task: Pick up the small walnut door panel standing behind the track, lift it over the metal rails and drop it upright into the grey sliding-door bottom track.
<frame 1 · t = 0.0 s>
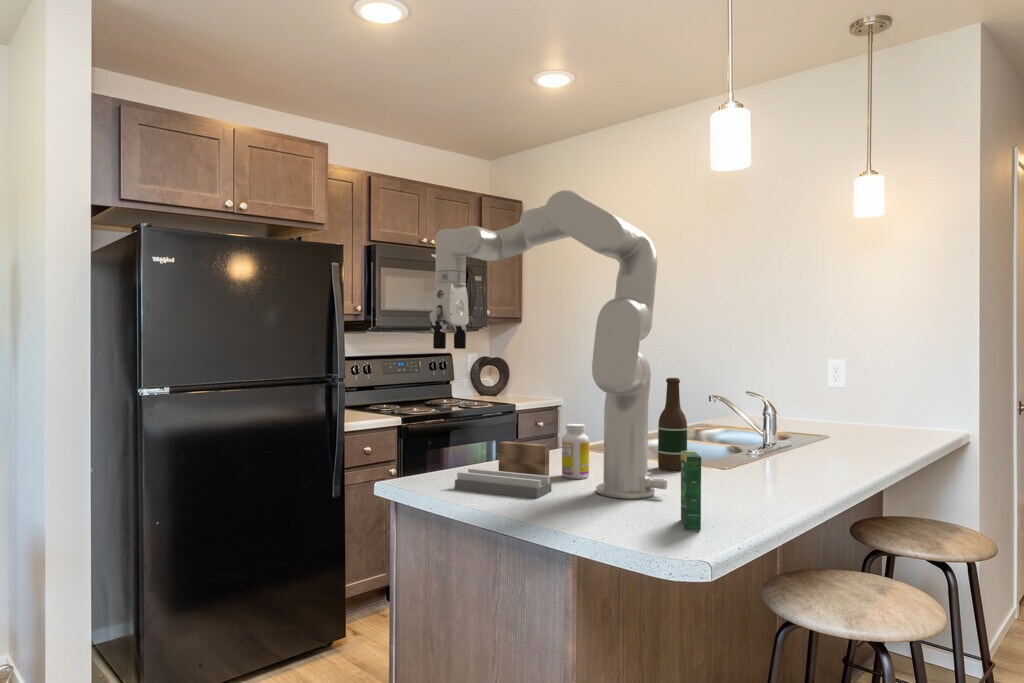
hand: (449, 348, 167), 31 cm above the worktop, fingers open, 9 cm apart
door panel: (523, 481, 159), on the worktop
coffee box: (690, 526, 122), on the worktop
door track: (502, 490, 149), on the worktop
supplement bottle: (575, 477, 165), on the worktop
beer bottle: (672, 469, 177), on the worktop
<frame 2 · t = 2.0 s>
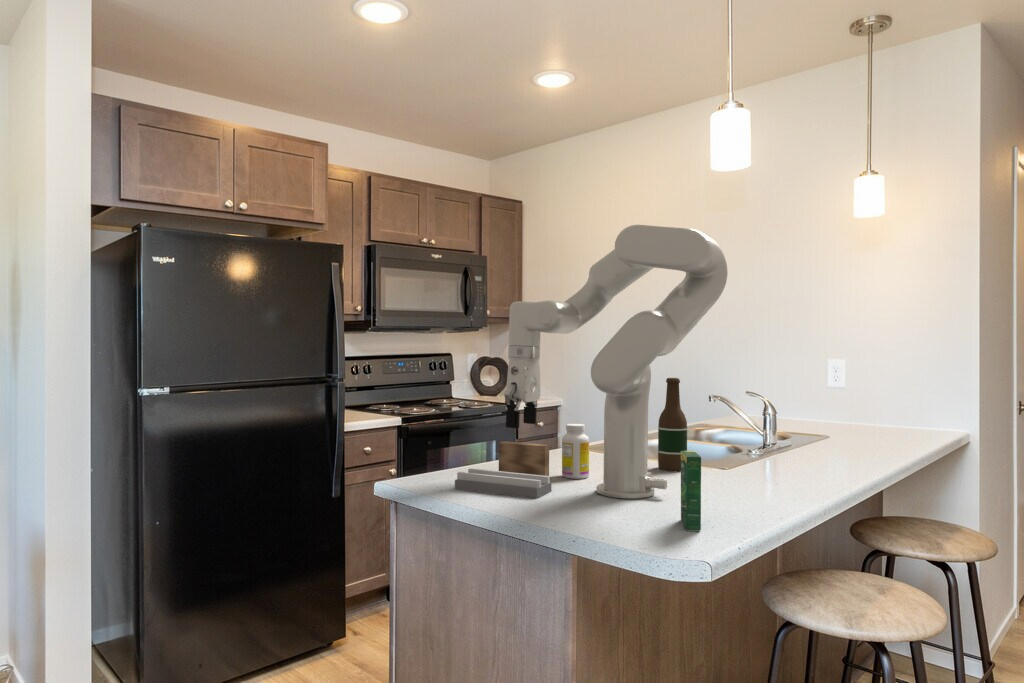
hand: (521, 425, 160), 13 cm above the worktop, fingers open, 9 cm apart
nothing on the worktop moved.
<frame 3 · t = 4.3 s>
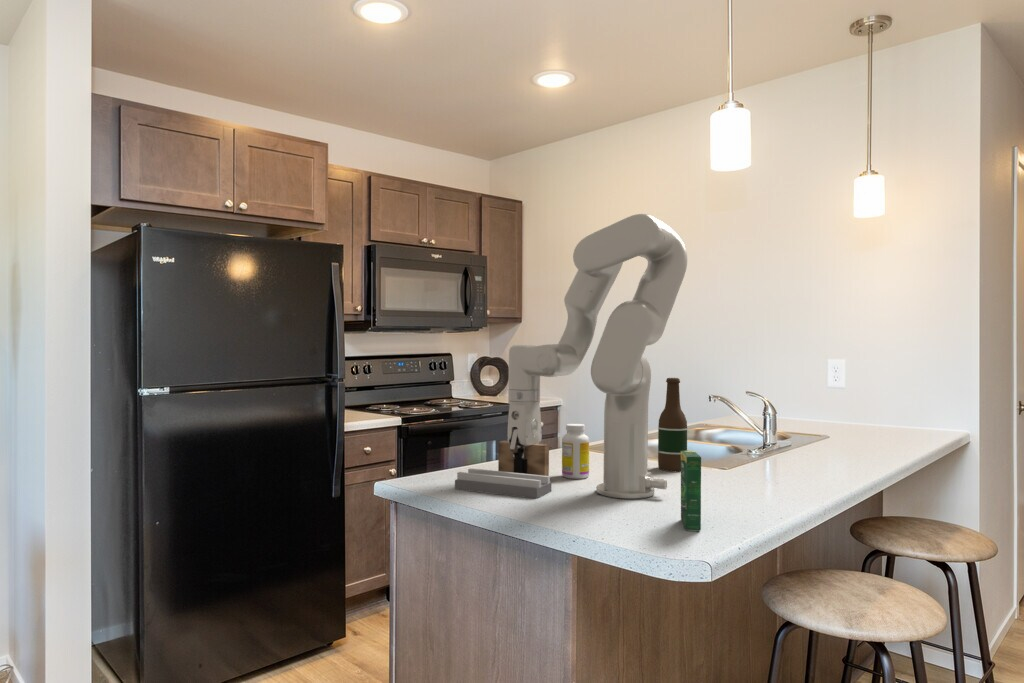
hand: (523, 473, 159), 2 cm above the worktop, fingers closed on door panel, 2 cm apart
door panel: (523, 481, 159), on the worktop, touching gripper
everything else where it was.
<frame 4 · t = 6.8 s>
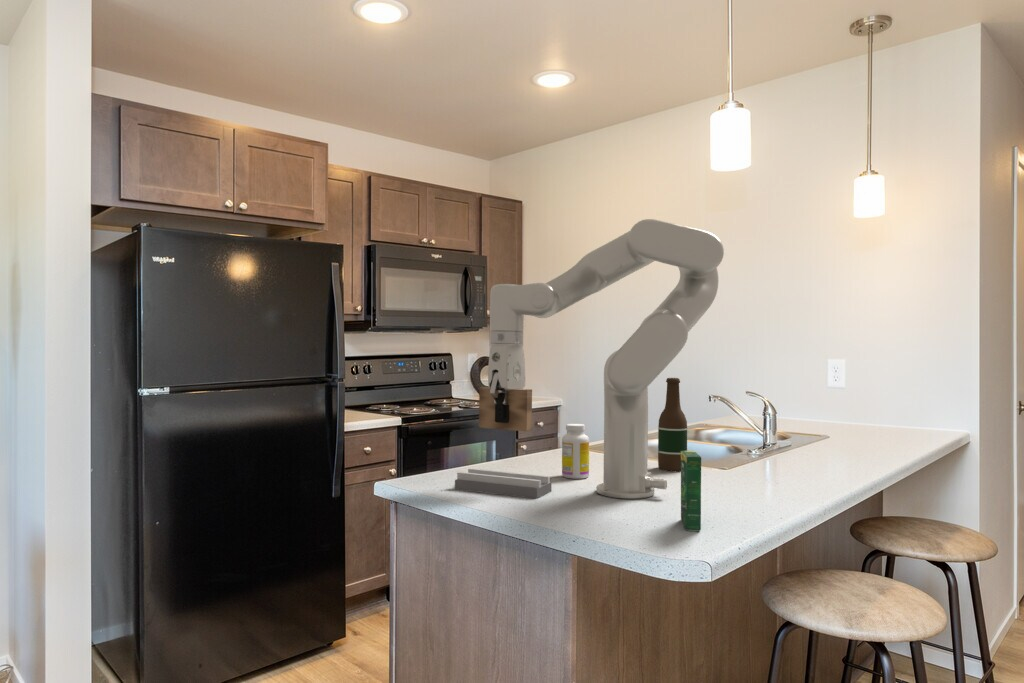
hand: (505, 421, 150), 15 cm above the worktop, fingers closed on door panel, 2 cm apart
door panel: (504, 428, 151), point 13 cm above the worktop, touching gripper
everything else where it was.
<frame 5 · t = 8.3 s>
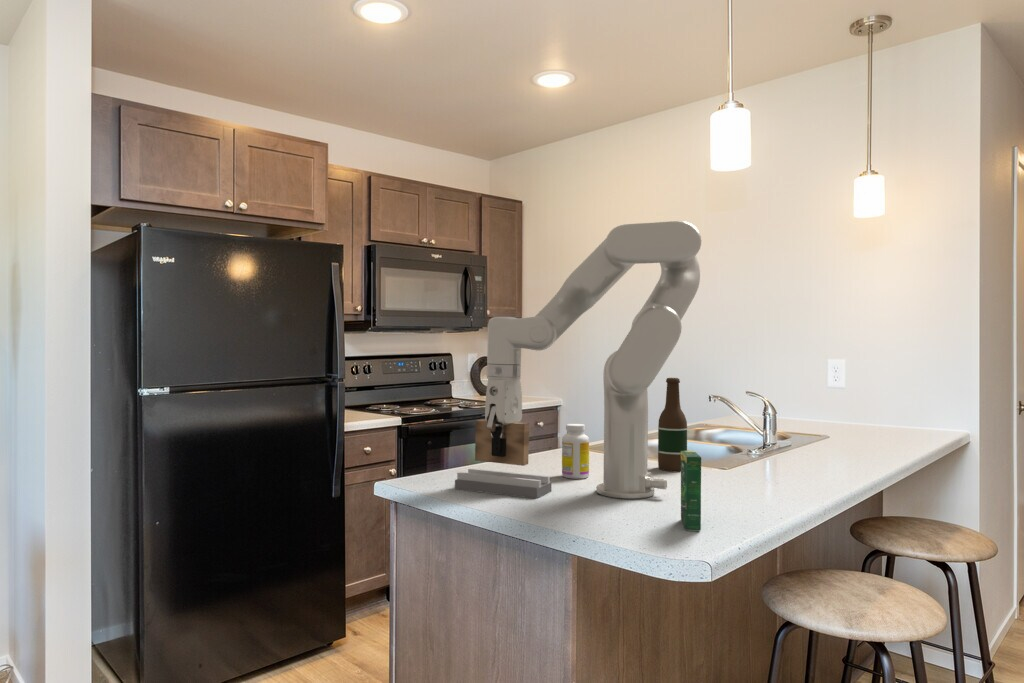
hand: (501, 454, 149), 8 cm above the worktop, fingers closed on door panel, 2 cm apart
door panel: (501, 462, 149), point 6 cm above the worktop, touching gripper
everything else where it was.
when the fingers open (5 cm above the worktop, at t = 9.5 s): door panel stays where it is, resting on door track.
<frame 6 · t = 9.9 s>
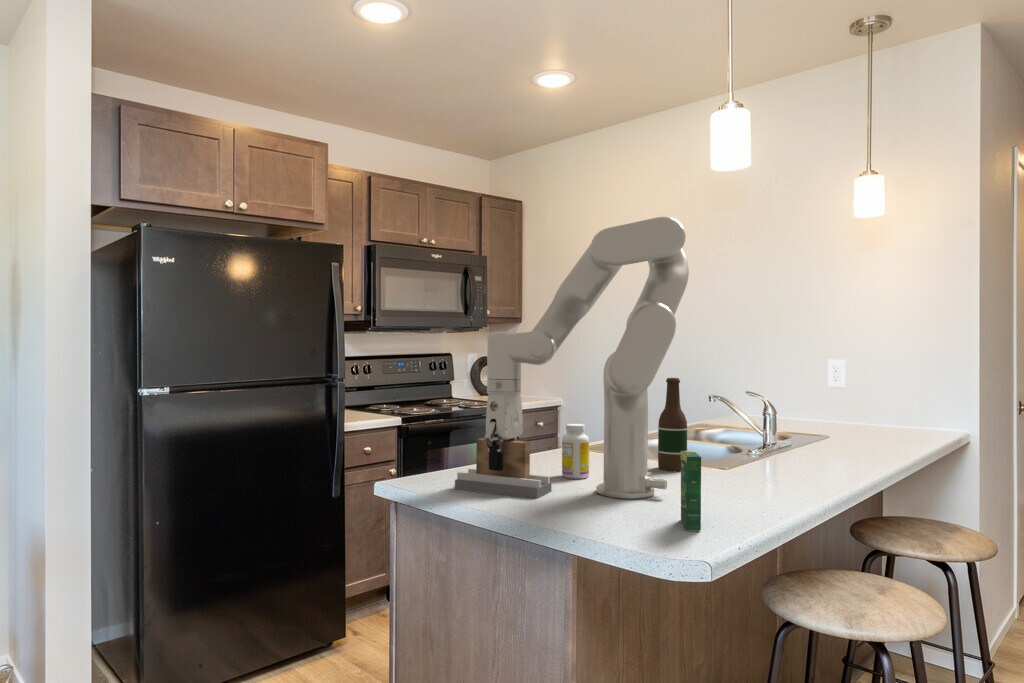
hand: (503, 466, 149), 5 cm above the worktop, fingers open, 6 cm apart
door panel: (502, 481, 149), point 2 cm above the worktop, touching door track
everything else where it was.
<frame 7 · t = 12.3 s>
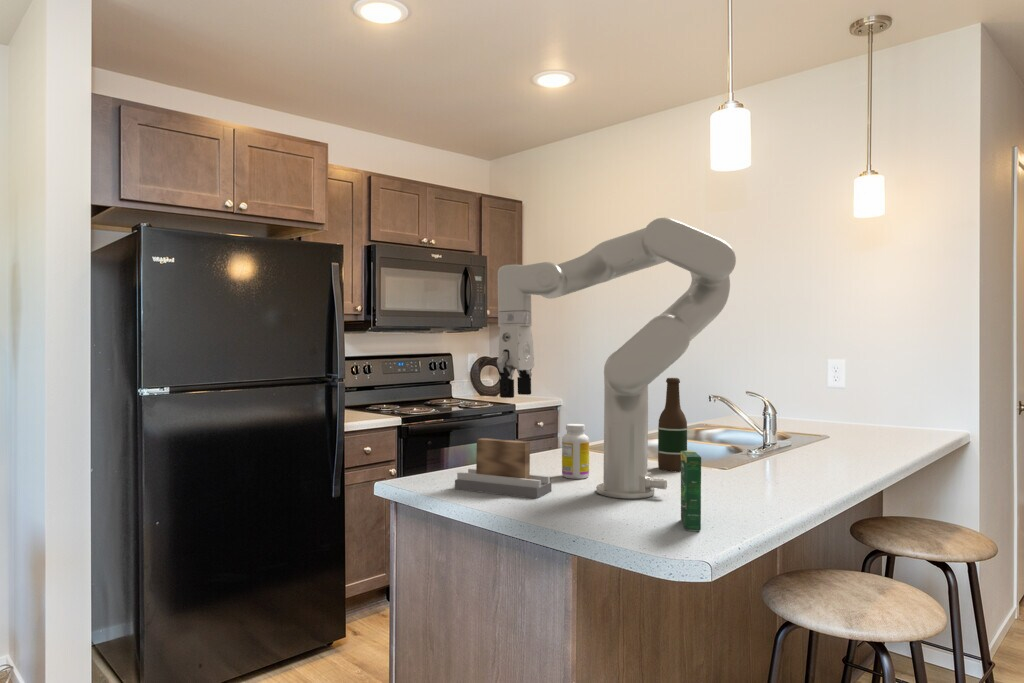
hand: (516, 395, 151), 21 cm above the worktop, fingers open, 9 cm apart
nothing on the worktop moved.
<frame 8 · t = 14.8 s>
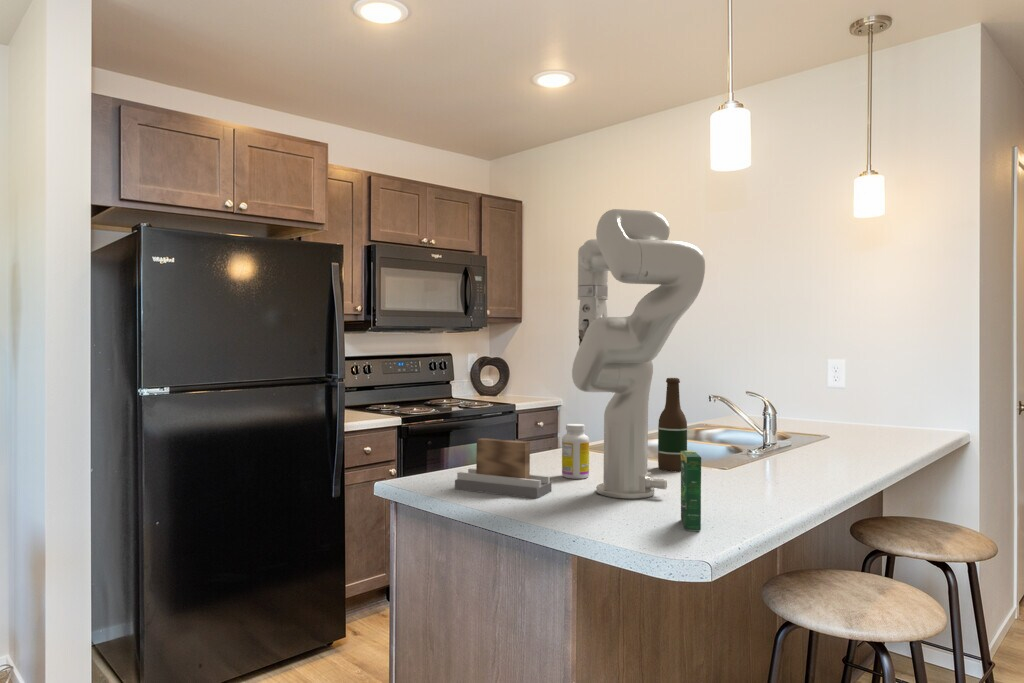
hand: (592, 361, 170), 28 cm above the worktop, fingers open, 9 cm apart
nothing on the worktop moved.
at the end: door panel 0.1 cm off-centre on the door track, point 2.0 cm above the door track's base; door panel tilted 0°; the gripper is holding nothing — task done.
